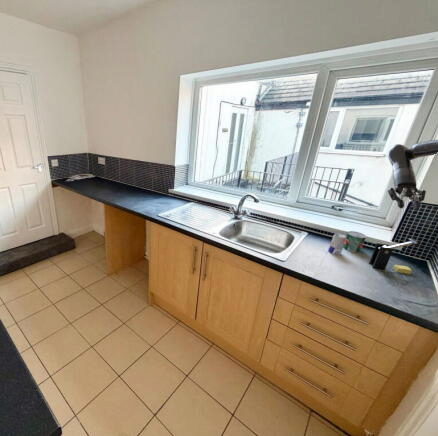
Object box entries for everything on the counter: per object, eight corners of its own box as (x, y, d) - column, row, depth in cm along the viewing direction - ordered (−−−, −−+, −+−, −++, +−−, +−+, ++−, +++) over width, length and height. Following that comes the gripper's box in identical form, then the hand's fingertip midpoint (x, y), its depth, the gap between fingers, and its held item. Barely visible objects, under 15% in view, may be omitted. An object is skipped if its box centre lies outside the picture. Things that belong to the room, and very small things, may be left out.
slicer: (384, 267, 120) (393, 244, 116) (392, 275, 113) (403, 251, 109) (359, 263, 124) (367, 240, 119) (366, 271, 117) (375, 247, 112)
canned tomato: (338, 247, 139) (344, 230, 135) (354, 249, 138) (360, 231, 134) (345, 254, 132) (352, 236, 128) (362, 256, 131) (369, 238, 126)
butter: (405, 271, 116) (407, 266, 115) (409, 275, 113) (412, 270, 112) (392, 269, 118) (394, 264, 117) (396, 272, 114) (398, 268, 113)
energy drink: (328, 251, 135) (335, 232, 130) (340, 255, 131) (347, 235, 127) (326, 255, 131) (333, 235, 127) (338, 258, 128) (345, 238, 123)
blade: (413, 241, 112) (412, 237, 111) (421, 246, 107) (419, 241, 107) (377, 249, 118) (376, 245, 117) (383, 254, 113) (381, 250, 113)
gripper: (390, 173, 121) (395, 202, 115) (428, 175, 117) (435, 206, 110) (381, 181, 128) (385, 210, 121) (417, 184, 123) (422, 213, 117)
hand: (409, 208), depth 116 cm, fingers open, 4 cm apart
